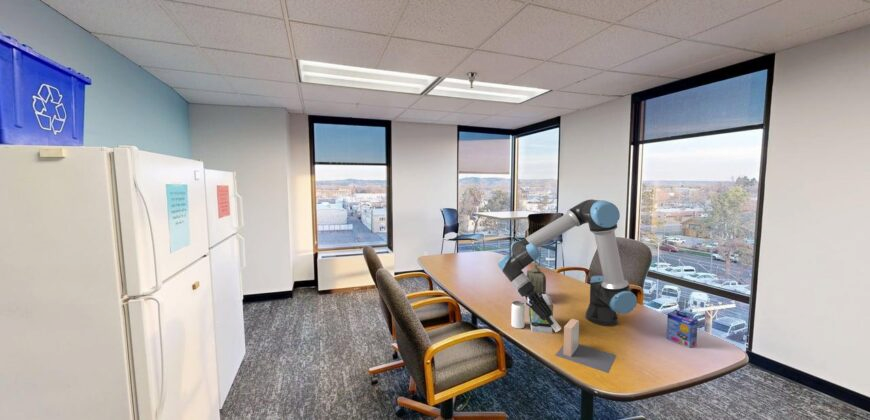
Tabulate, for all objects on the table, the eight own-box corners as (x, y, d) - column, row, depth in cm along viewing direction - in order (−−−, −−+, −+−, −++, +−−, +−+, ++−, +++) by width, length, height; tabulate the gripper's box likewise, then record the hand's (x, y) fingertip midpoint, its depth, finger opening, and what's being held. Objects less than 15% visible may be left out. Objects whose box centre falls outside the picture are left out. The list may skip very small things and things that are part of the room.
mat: (554, 356, 135) (554, 355, 135) (566, 341, 147) (566, 340, 147) (608, 374, 122) (608, 373, 122) (616, 356, 135) (616, 355, 135)
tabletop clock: (526, 296, 205) (527, 257, 203) (541, 296, 204) (542, 257, 202) (529, 304, 191) (530, 263, 189) (545, 305, 190) (546, 263, 188)
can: (522, 330, 159) (522, 306, 158) (509, 327, 162) (509, 303, 161) (526, 325, 164) (526, 302, 163) (513, 322, 168) (514, 299, 167)
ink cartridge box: (665, 338, 149) (667, 308, 148) (672, 335, 152) (673, 306, 151) (690, 348, 141) (692, 316, 139) (696, 345, 143) (698, 313, 142)
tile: (563, 354, 136) (564, 326, 135) (570, 344, 143) (571, 318, 142) (571, 356, 134) (572, 328, 132) (578, 347, 141) (579, 320, 140)
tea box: (553, 334, 154) (553, 304, 153) (531, 332, 156) (531, 303, 155) (548, 321, 169) (549, 293, 168) (528, 319, 171) (529, 292, 170)
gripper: (523, 286, 157) (557, 329, 148) (511, 293, 147) (547, 340, 138) (534, 277, 153) (570, 321, 144) (522, 284, 143) (560, 331, 134)
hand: (558, 330), depth 141 cm, fingers closed
